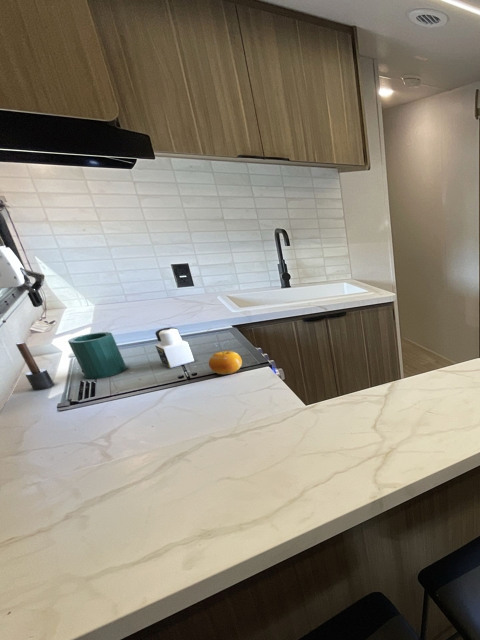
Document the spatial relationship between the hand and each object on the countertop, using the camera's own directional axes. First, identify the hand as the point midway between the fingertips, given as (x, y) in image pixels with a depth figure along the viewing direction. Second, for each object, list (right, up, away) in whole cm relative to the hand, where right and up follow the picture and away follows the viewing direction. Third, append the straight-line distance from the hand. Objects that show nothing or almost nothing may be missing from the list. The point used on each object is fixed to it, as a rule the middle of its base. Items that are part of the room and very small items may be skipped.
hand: (14, 308), depth 111 cm
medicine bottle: (+24, -14, +27) cm, 39 cm away
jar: (+6, -18, +20) cm, 27 cm away
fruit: (+47, -18, +18) cm, 53 cm away
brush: (-4, -22, +10) cm, 25 cm away
